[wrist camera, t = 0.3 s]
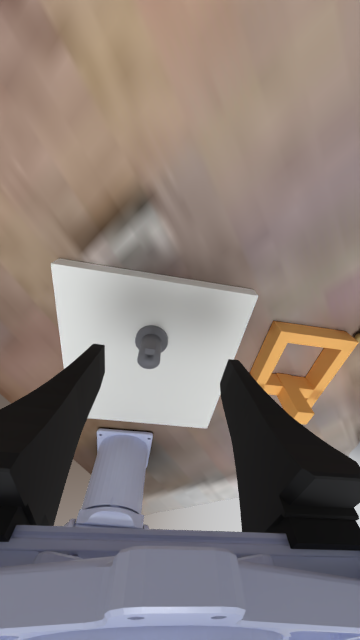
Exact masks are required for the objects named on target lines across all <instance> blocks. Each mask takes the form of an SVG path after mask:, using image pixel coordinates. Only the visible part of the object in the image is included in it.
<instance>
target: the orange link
mask: <svg viewBox="0 0 360 640" xmlns="http://www.w3.org/2000/svg"><path fill="white" fill-rule="evenodd" d="M287 343H294V344H301V345H308V346H316V347H323V348H324V349H323V350H322V352H321V353H320V355H319V357H318V358H317V360H316V361H315V363H314V364H313V366H312V368H311V369H310V371H309V372H308V374H307V375H306V377H298V376H291V375H289V374H280V373H276V374H272V372H273V370H274V368H275V366H276V364H277V362H278V360H279V358H280V356H281V354H282V352H283V350H284V349H285V347H286V345H287ZM358 343H359V342H358V341H357V340H356V339H354V338H353V337H352V336H351V335H349V334H348V333H347V332H346V331H340V330H334V329H327V328H320V327H313V326H306V325H299V324H292V323H285V322H278V321H273V322H272V325H271V327H270V329H269V331H268V334H267V336H266V338H265V340H264V342H263V345H262V347H261V349H260V351H259V353H258V356H257V358H256V360H255V362H254V364H253V367H252V369H251V371H250V375H251V376H252V377H253V378H254V379H255V380H256V382H257V383H258V384H259V385H260V386H261V387H262V388H263V389H264V391H265V392H266V393H267V394H271V395H277V397H278V399H279V401H280V403H281V405H282V407H283V409H284V410H285V411H286V412H287V413H288V414H289V415H290V416H291V417H293V418H294V419H295V420H296V421H297V422H299V423H300V424H307V423H308V422H309V420H310V419H311V418H312V416H313V415H314V412H313V410H312V409H311V407H312V406H313V405H314V403H315V402H316V400H317V399H318V398H319V396H320V395H321V394H322V392H323V391H324V389H325V388H326V387H327V385H328V384H329V383H330V381H331V380H332V378H333V377H334V376H335V374H336V373H337V371H338V370H339V369H340V367H341V366H342V365H343V363H344V362H345V360H346V359H347V358H348V356H349V355H350V354H351V352H352V351H353V349H354V348H355V347H356V345H357V344H358Z"/></svg>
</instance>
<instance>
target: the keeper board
mask: <svg viewBox="0 0 360 640" xmlns="http://www.w3.org/2000/svg"><path fill="white" fill-rule="evenodd" d="M51 269H52V277H53V285H54V293H55V301H56V309H57V317H58V325H59V333H60V341H61V349H62V357H63V365H64V369H65V368H66V367H67V366H69V365H70V364H71V363H72V362H73V361H75V360H76V359H77V358H78V357H79V356H80V355H81V354H82V353H84V352H85V351H86V350H87V349H88V348H89V347H90V346H91V345H92V344H101V345H105V374H104V377H103V381H102V384H101V387H100V390H99V392H98V395H97V397H96V399H95V402H94V404H93V406H92V408H91V411H90V413H89V415H88V418H92V419H104V420H115V421H127V422H138V423H150V424H161V425H173V426H184V427H196V428H207V427H208V425H209V422H210V420H211V417H212V414H213V412H214V409H215V407H216V404H217V401H218V399H219V396H220V394H221V391H220V381H221V379H222V376H223V373H224V370H225V367H226V365H227V362H228V359H232V360H234V358H235V355H236V352H237V350H238V347H239V345H240V342H241V340H242V337H243V334H244V332H245V329H246V327H247V324H248V322H249V319H250V316H251V314H252V311H253V309H254V306H255V303H256V301H257V298H258V295H257V293H256V292H255V291H254V290H253V289H248V288H241V287H235V286H229V285H223V284H216V283H210V282H204V281H198V280H191V279H185V278H179V277H173V276H166V275H160V274H154V273H147V272H141V271H135V270H129V269H122V268H116V267H110V266H104V265H97V264H91V263H85V262H79V261H72V260H66V259H60V258H59V259H57V260H55V261H54V262H52V263H51Z"/></svg>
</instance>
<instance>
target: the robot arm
mask: <svg viewBox="0 0 360 640" xmlns="http://www.w3.org/2000/svg"><path fill="white" fill-rule="evenodd" d="M104 374H105V345H101V344H92V345H91V346H90V347H89V348H88V349H87V350H86V351H85V352H84V353H82V354H81V355H80V356H79V357H78V358H77V359H76V360H75V361H73V362H72V363H71V364H70V365H69V366H67V367H66V368H65V369H64V370H62V371H61V372H60V373H58V374H57V375H56V376H55V377H53V378H52V379H51V380H49V381H48V382H46V383H45V384H43V385H42V386H40V387H39V388H37V389H36V390H34V391H33V392H31V393H29V394H28V395H26V396H24V397H22V398H21V399H19V400H17V401H15V402H14V403H12V404H10V405H8V406H6V407H4V408H2V409H0V640H360V528H359V526H358V524H357V522H356V520H358V519H359V516H358V515H357V513H356V511H355V509H354V507H355V506H356V505H357V504H359V503H360V467H359V465H358V464H357V462H356V461H354V460H352V459H351V458H349V457H348V456H346V455H344V454H343V453H341V452H340V451H338V450H336V449H335V448H333V447H332V446H330V445H329V444H327V443H326V442H324V441H323V440H321V439H320V438H319V437H317V436H316V435H314V434H313V433H312V432H310V431H309V430H308V429H306V428H305V427H304V426H303V425H301V424H300V423H299V422H297V421H296V420H295V419H294V418H293V417H291V416H290V415H289V414H288V413H287V412H286V411H285V410H284V409H283V408H281V407H280V406H279V405H278V404H277V403H276V402H275V401H274V400H273V399H272V398H271V397H270V396H269V395H268V394H267V393H266V392H265V391H264V389H263V388H262V387H261V386H260V385H259V384H258V383H257V382H256V380H255V379H254V378H253V377H252V376H251V375H250V373H249V372H248V371H247V370H246V369H245V367H244V366H243V365H242V364H241V363H240V362H239V360H232V359H228V362H227V365H226V367H225V370H224V373H223V376H222V379H221V381H220V391H221V399H222V404H223V408H224V412H225V416H226V420H227V424H228V428H229V432H230V436H231V440H232V445H233V452H234V459H235V466H236V473H237V481H238V491H239V500H240V510H241V522H242V532H224V531H193V530H162V529H149V527H148V526H147V525H143V519H144V515H141V510H142V500H143V490H144V481H145V471H146V467H147V465H148V459H149V454H150V449H151V443H152V438H153V434H152V433H150V432H138V431H126V430H114V429H102V428H100V429H98V430H97V453H98V454H97V457H96V461H95V464H94V468H93V471H92V474H91V478H90V481H89V485H88V488H87V492H86V495H85V499H84V502H83V505H82V509H80V510H79V513H78V517H77V521H76V519H70V520H69V522H68V523H66V524H65V525H64V526H53V525H54V522H55V518H56V514H57V511H58V507H59V504H60V500H61V496H62V493H63V490H64V486H65V483H66V479H67V476H68V473H69V469H70V466H71V462H72V460H73V457H74V453H75V450H76V447H77V444H78V441H79V438H80V435H81V432H82V430H83V427H84V424H85V422H86V420H87V418H88V415H89V413H90V411H91V408H92V406H93V404H94V402H95V399H96V397H97V395H98V392H99V390H100V387H101V384H102V381H103V377H104ZM75 522H76V523H75Z"/></svg>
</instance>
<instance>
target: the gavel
mask: <svg viewBox="0 0 360 640" xmlns="http://www.w3.org/2000/svg"><path fill="white" fill-rule="evenodd" d="M354 338H355V339H356V340H357V341H358V342H359V343H360V333H358V334H357V335H355V337H354Z"/></svg>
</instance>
